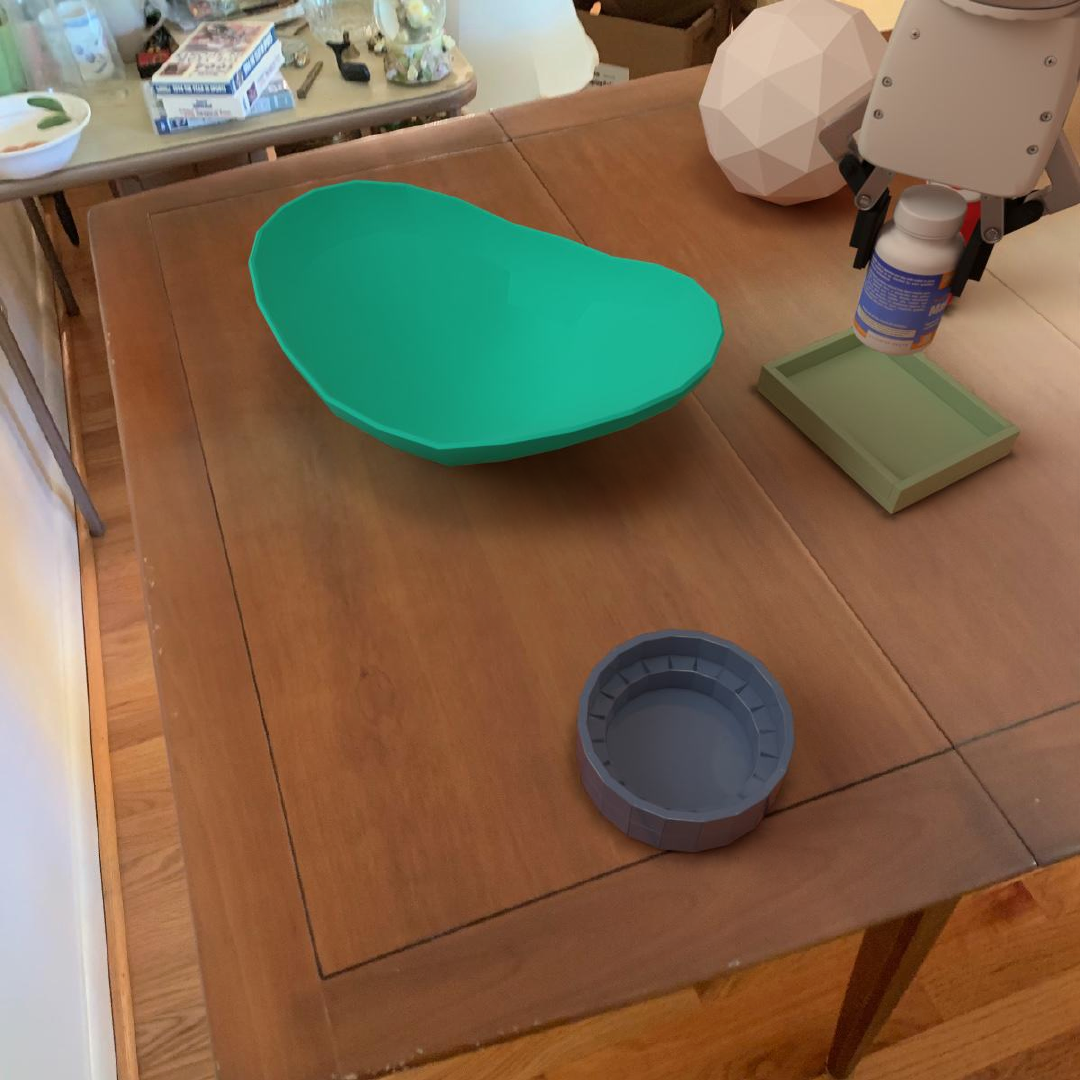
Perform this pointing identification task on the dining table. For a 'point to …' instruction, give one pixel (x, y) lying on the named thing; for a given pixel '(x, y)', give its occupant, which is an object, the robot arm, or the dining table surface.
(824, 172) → the ball
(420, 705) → the dining table surface
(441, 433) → the table top decor
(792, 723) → the bowl
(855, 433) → the tray
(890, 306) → the pill bottle
